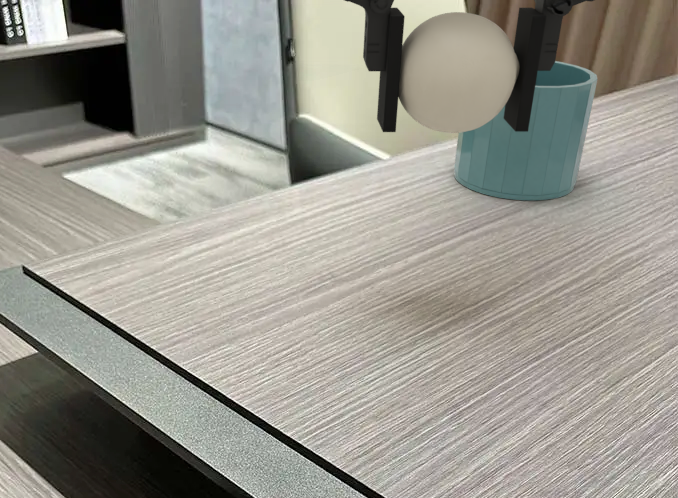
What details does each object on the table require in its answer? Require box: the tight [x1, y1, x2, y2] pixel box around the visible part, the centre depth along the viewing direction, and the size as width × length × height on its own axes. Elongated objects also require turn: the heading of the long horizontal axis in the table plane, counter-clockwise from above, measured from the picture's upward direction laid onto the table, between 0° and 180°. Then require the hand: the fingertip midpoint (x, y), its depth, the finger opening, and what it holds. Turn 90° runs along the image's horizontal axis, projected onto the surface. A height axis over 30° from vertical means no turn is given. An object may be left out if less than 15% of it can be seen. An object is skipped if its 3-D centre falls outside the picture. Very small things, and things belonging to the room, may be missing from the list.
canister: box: [453, 60, 598, 201], centre depth 75 cm, size 11×11×10 cm
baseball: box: [398, 11, 519, 134], centre depth 48 cm, size 7×7×7 cm
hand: (450, 124), depth 49 cm, fingers closed on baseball, 7 cm apart
